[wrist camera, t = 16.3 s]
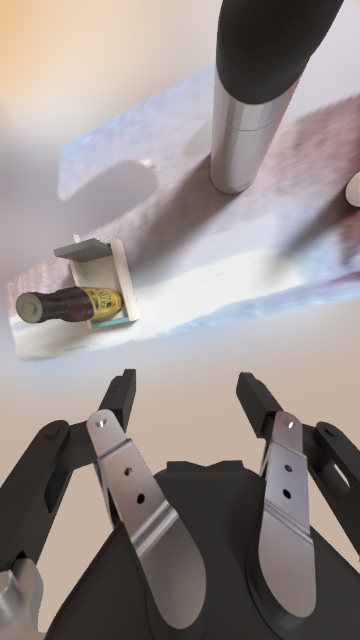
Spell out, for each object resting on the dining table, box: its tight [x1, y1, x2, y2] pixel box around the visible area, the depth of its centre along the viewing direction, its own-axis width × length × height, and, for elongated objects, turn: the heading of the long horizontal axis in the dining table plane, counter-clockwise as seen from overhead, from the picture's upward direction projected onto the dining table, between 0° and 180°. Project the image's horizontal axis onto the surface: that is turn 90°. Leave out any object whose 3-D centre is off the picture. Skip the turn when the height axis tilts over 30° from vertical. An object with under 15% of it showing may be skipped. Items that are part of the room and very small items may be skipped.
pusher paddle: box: [54, 235, 113, 263], centre depth 35 cm, size 3×9×8 cm, turn 102°
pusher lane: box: [68, 237, 141, 329], centre depth 40 cm, size 18×12×4 cm, turn 12°
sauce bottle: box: [16, 286, 123, 323], centre depth 31 cm, size 6×6×20 cm
